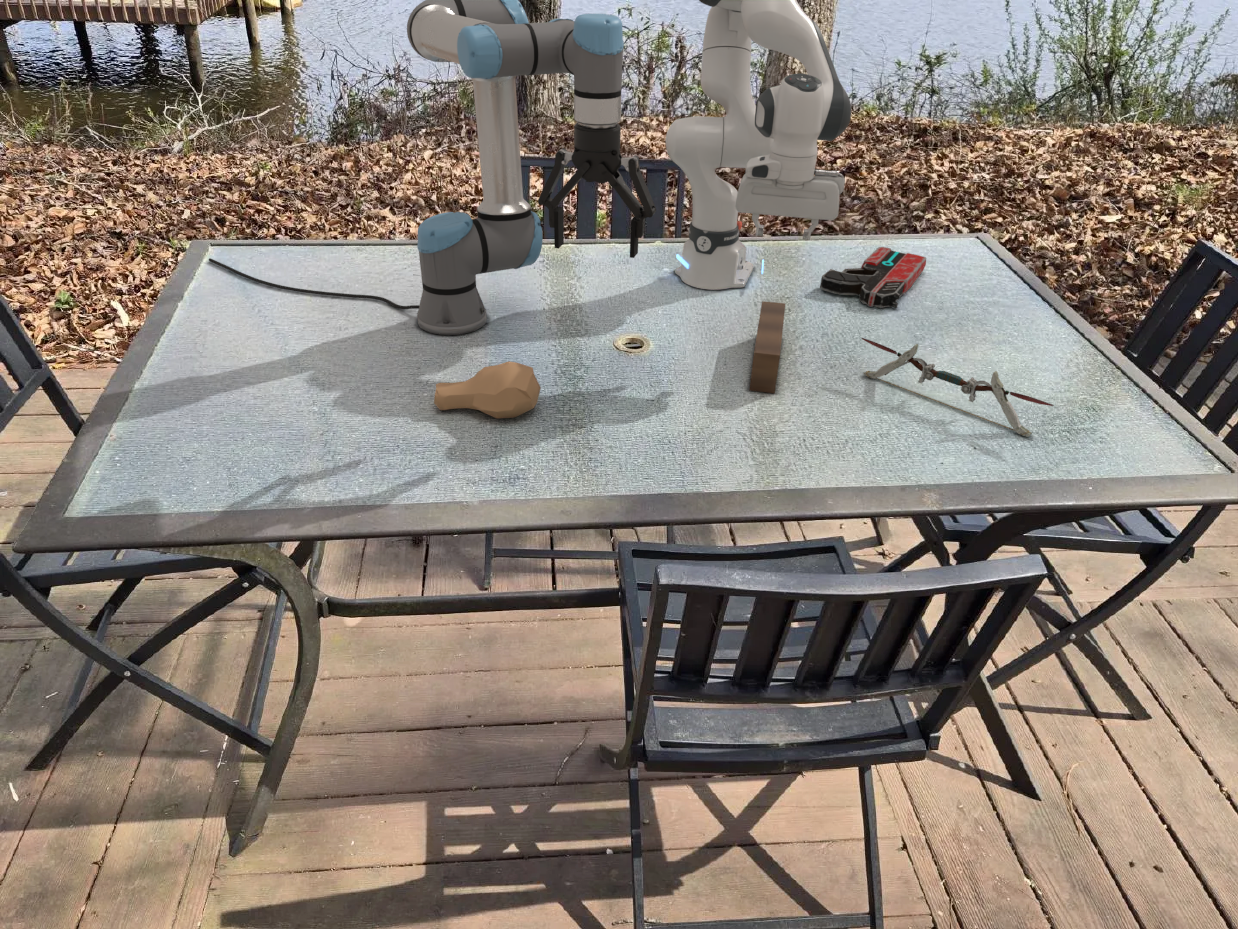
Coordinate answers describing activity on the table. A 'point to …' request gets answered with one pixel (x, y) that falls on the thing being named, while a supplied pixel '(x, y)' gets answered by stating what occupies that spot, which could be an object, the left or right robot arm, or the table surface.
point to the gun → (877, 277)
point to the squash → (493, 391)
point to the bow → (966, 388)
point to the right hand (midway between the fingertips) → (782, 236)
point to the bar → (767, 347)
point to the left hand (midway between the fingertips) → (596, 250)
